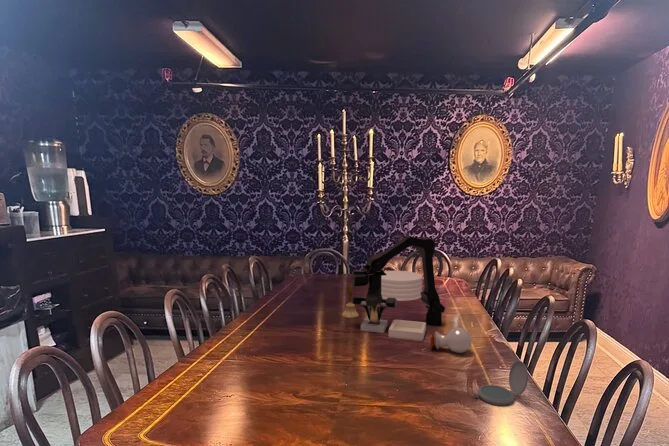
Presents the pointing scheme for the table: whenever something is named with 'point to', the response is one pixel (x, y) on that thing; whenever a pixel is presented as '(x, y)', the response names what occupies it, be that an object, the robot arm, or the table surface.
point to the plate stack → (401, 285)
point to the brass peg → (374, 315)
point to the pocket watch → (503, 395)
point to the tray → (407, 330)
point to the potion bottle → (452, 340)
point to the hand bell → (350, 305)
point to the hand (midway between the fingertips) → (374, 320)
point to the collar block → (374, 326)
